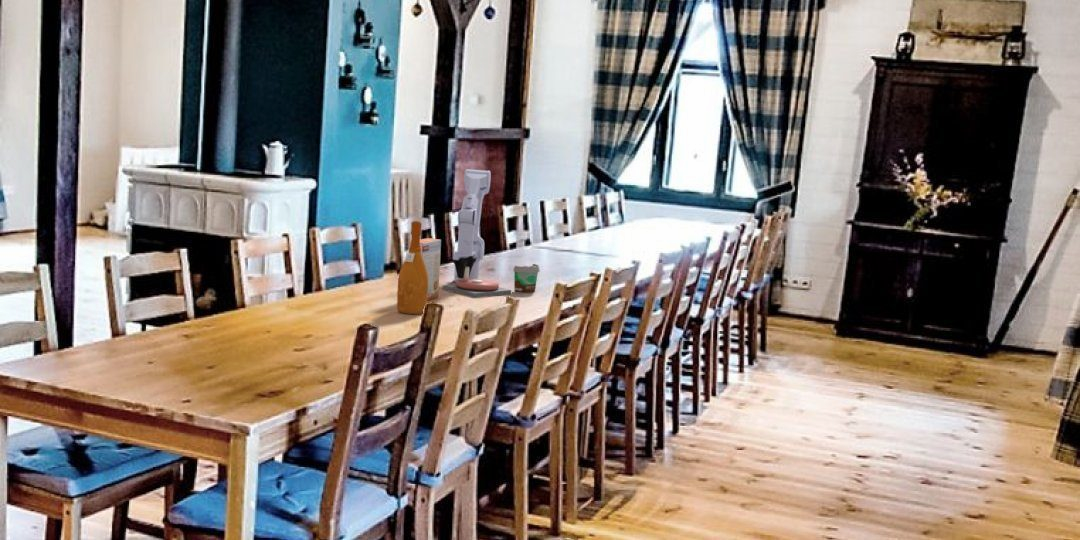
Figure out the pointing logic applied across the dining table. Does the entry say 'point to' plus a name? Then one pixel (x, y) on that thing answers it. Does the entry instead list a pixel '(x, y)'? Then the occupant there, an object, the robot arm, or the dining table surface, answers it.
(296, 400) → the dining table surface
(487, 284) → the handwheel
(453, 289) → the base plate
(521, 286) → the food container
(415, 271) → the wine bottle
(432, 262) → the cracker box
